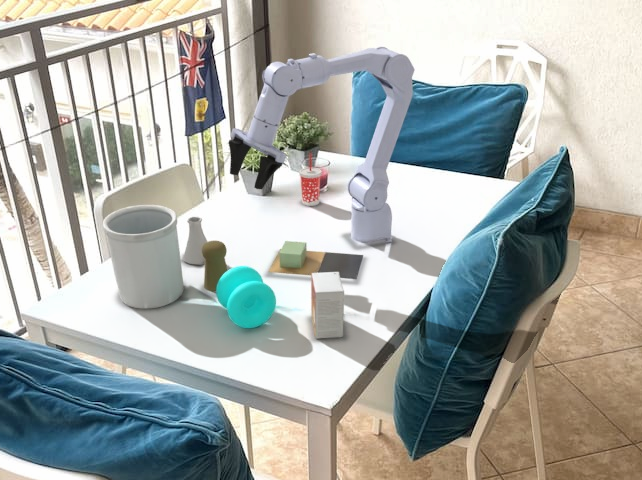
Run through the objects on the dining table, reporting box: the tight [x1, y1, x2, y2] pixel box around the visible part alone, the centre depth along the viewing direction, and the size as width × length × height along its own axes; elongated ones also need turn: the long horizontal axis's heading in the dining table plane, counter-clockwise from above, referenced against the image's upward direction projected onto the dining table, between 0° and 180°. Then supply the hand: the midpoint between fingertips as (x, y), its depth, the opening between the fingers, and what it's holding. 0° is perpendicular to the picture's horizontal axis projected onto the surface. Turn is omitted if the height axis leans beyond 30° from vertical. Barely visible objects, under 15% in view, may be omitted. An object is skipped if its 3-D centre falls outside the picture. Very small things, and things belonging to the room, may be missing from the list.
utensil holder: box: [102, 204, 185, 310], centre depth 147 cm, size 15×15×18 cm
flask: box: [182, 216, 208, 265], centre depth 162 cm, size 7×7×10 cm
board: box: [268, 248, 364, 280], centre depth 160 cm, size 20×12×1 cm, turn 79°
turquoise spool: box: [215, 265, 277, 329], centre depth 140 cm, size 10×10×10 cm
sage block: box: [279, 240, 308, 268], centre depth 160 cm, size 5×6×4 cm
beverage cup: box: [298, 152, 323, 207], centre depth 189 cm, size 6×6×14 cm
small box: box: [310, 272, 345, 340], centre depth 136 cm, size 8×6×10 cm
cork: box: [202, 240, 229, 293], centre depth 150 cm, size 6×6×11 cm
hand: (245, 181), depth 153 cm, fingers open, 7 cm apart
